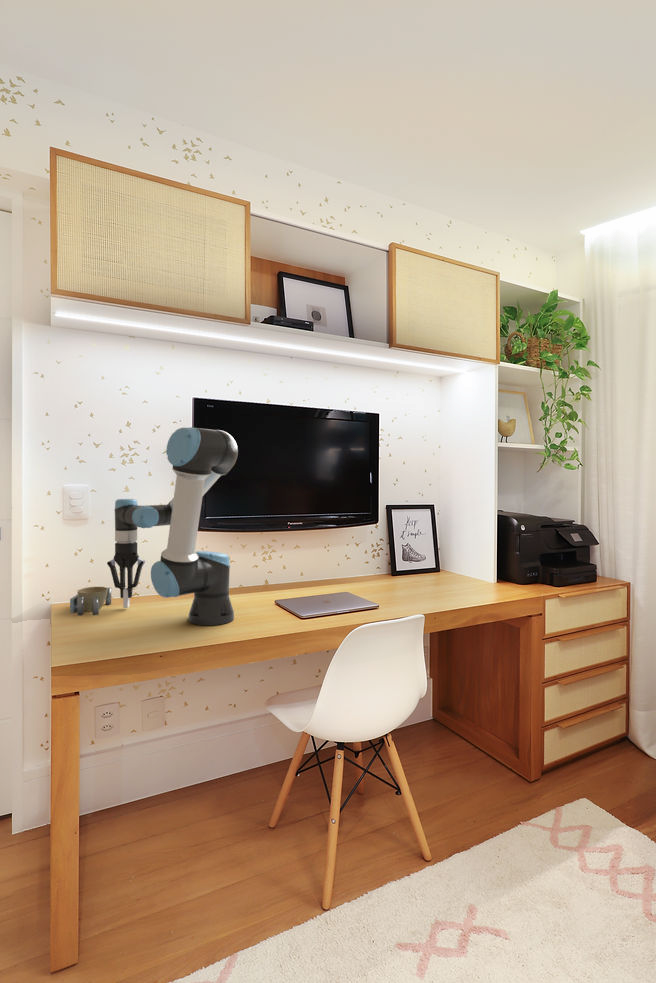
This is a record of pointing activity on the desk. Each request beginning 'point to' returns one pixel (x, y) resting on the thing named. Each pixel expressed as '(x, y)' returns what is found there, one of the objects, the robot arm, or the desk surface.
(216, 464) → the robot arm
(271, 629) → the desk surface
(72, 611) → the pin cradle
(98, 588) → the flower pot
